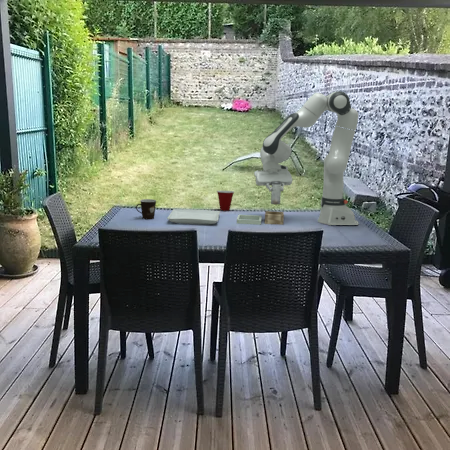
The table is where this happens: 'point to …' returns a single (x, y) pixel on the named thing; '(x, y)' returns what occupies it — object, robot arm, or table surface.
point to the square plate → (193, 216)
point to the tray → (254, 218)
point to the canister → (276, 192)
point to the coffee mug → (147, 208)
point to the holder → (274, 217)
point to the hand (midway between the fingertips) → (276, 190)
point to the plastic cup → (225, 199)
